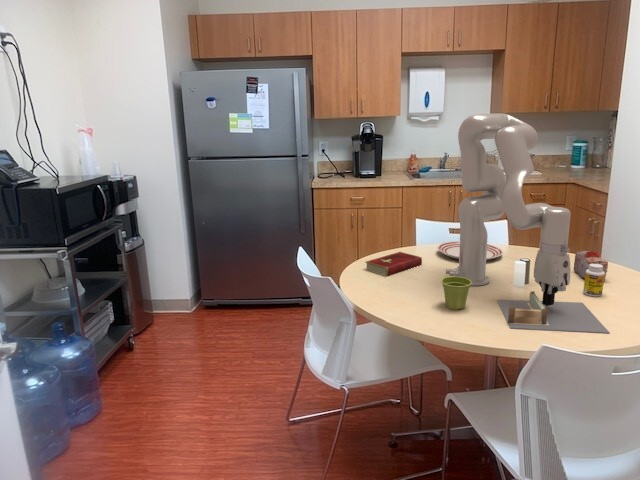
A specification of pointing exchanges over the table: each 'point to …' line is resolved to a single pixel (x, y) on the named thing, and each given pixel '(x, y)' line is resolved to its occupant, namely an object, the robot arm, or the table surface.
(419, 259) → the hardcover book
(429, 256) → the table surface
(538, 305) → the bar
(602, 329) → the card
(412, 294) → the table surface
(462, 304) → the plant pot
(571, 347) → the table surface
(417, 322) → the table surface
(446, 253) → the dinner plate
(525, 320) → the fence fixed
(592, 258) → the food item
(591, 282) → the supplement bottle
